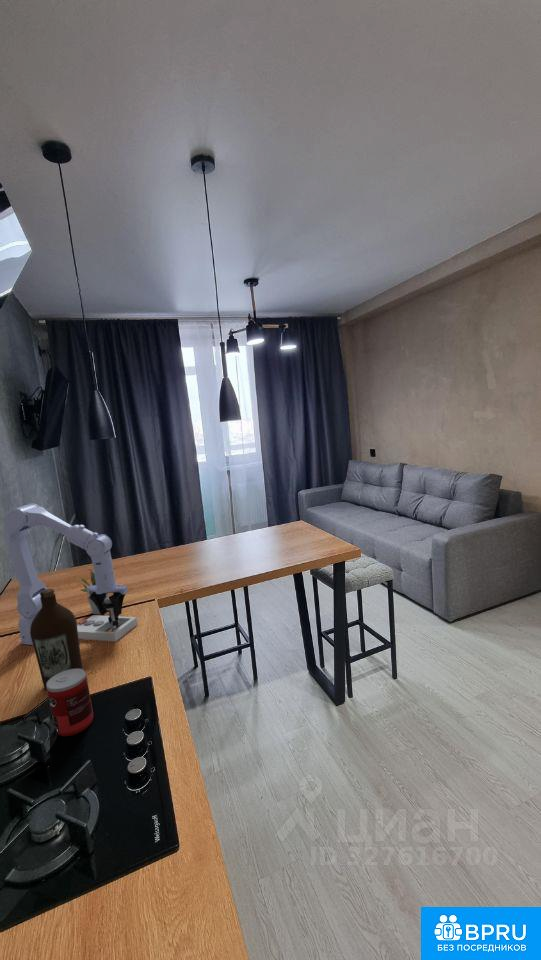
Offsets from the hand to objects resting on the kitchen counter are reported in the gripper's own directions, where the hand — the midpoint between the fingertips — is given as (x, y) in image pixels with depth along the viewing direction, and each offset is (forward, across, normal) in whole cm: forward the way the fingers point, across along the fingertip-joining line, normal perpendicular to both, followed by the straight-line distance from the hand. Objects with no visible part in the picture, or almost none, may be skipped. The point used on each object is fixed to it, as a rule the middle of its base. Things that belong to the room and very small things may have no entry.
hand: (111, 614), depth 135 cm
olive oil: (+6, +5, -26) cm, 27 cm away
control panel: (+6, -4, 0) cm, 7 cm away
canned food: (+6, +21, -39) cm, 45 cm away
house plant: (+6, -16, +14) cm, 22 cm away
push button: (+5, 0, 0) cm, 5 cm away
